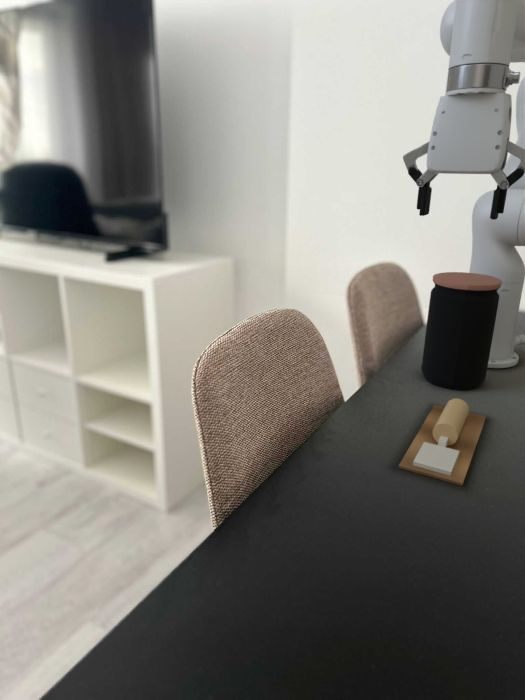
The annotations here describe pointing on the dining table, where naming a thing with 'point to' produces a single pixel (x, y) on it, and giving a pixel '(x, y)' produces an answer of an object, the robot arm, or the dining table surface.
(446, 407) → the spatula
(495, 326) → the robot arm
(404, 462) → the wooden board
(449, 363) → the coffee jar
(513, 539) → the dining table surface
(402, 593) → the dining table surface
